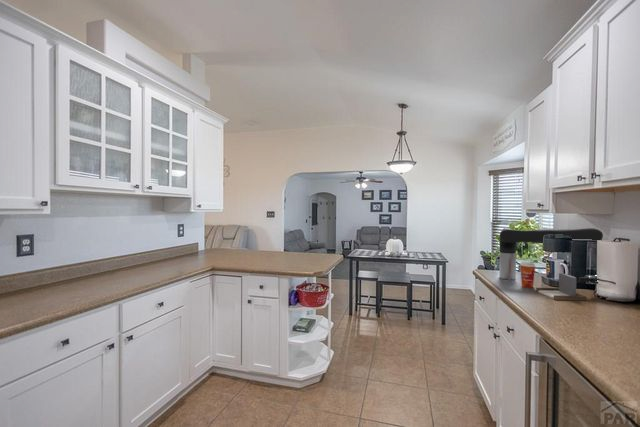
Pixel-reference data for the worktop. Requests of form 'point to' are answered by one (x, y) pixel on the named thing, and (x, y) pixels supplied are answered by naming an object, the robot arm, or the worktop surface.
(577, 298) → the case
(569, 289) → the grey open angular piece
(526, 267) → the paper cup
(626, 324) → the worktop surface
